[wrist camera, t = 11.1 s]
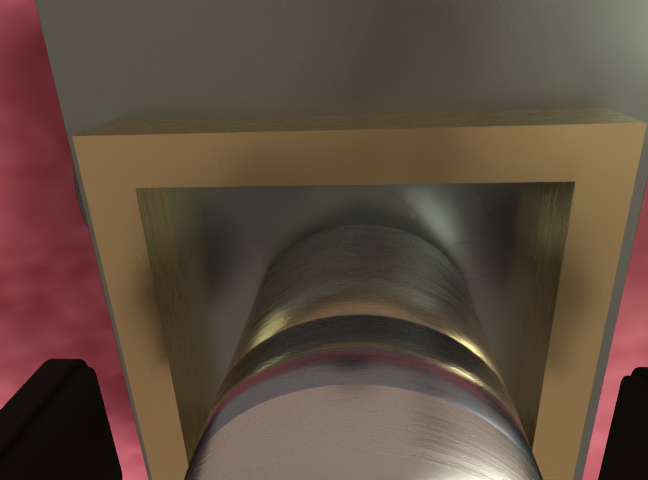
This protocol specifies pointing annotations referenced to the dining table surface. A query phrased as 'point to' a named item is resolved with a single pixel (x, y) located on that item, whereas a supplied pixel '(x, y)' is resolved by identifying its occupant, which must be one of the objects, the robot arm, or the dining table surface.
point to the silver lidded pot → (363, 372)
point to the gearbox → (357, 177)
